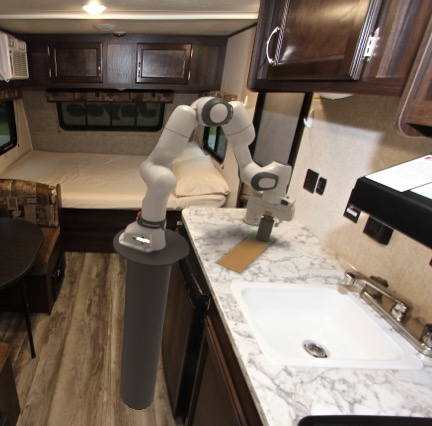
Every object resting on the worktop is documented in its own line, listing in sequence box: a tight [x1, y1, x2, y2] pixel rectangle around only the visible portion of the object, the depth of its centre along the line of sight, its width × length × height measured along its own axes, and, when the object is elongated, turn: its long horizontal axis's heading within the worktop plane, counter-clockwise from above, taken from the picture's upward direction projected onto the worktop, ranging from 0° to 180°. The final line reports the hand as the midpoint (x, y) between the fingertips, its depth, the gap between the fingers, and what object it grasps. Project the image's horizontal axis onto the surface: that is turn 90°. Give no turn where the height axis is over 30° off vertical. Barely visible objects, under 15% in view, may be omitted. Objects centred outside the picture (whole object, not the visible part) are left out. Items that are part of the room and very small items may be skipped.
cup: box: [243, 199, 264, 226], centre depth 157 cm, size 10×9×12 cm
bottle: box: [256, 211, 275, 242], centre depth 139 cm, size 6×6×15 cm
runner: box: [216, 237, 269, 274], centre depth 130 cm, size 31×10×1 cm, turn 134°
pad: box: [247, 231, 277, 247], centre depth 143 cm, size 10×10×1 cm
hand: (265, 223), depth 139 cm, fingers open, 8 cm apart
